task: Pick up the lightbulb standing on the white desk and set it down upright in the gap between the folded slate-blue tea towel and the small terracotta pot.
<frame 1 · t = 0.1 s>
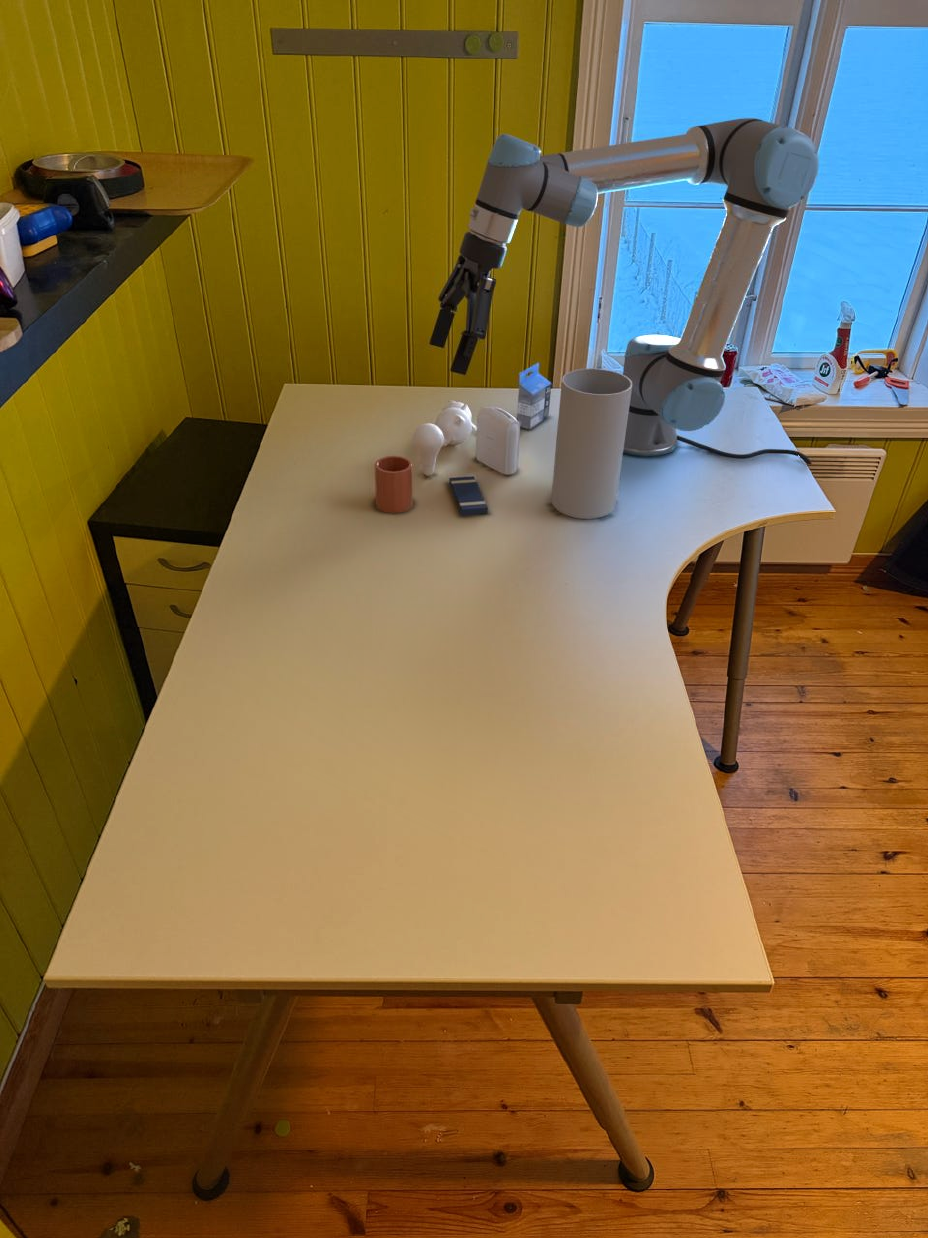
hand: (446, 358, 162), 28 cm above the table, tool tilted 20°, fingers open, 13 cm apart
photo printer: (496, 466, 190), on the table
cylinder vase: (582, 505, 178), on the table
ink cartridge box: (532, 422, 208), on the table
cat figurine: (458, 439, 200), on the table
lightbulb: (428, 475, 186), on the table
pot: (394, 504, 176), on the table
towel: (467, 498, 178), on the table
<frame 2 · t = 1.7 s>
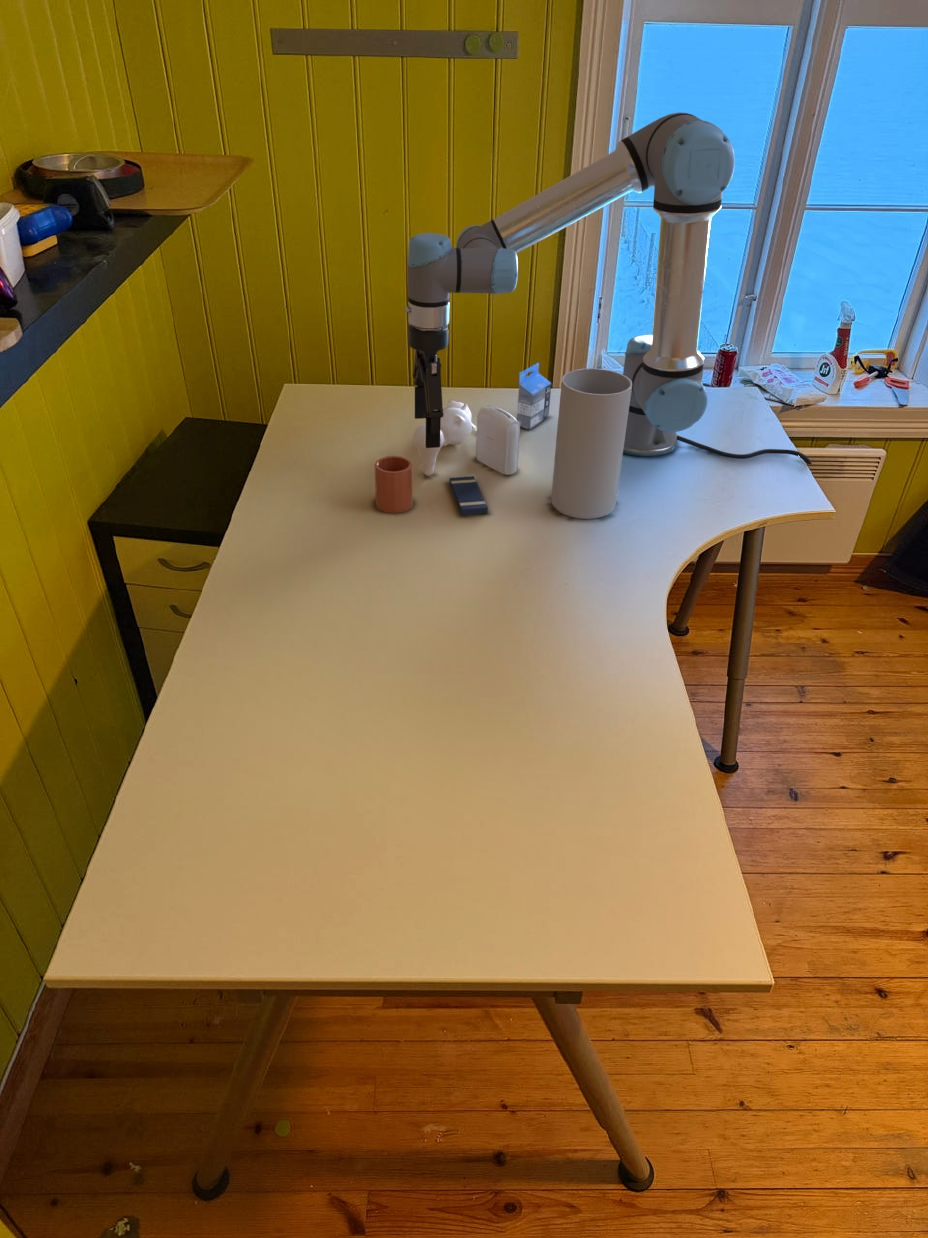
hand: (426, 432, 180), 9 cm above the table, tool pointing down, fingers open, 13 cm apart
nothing on the table moved.
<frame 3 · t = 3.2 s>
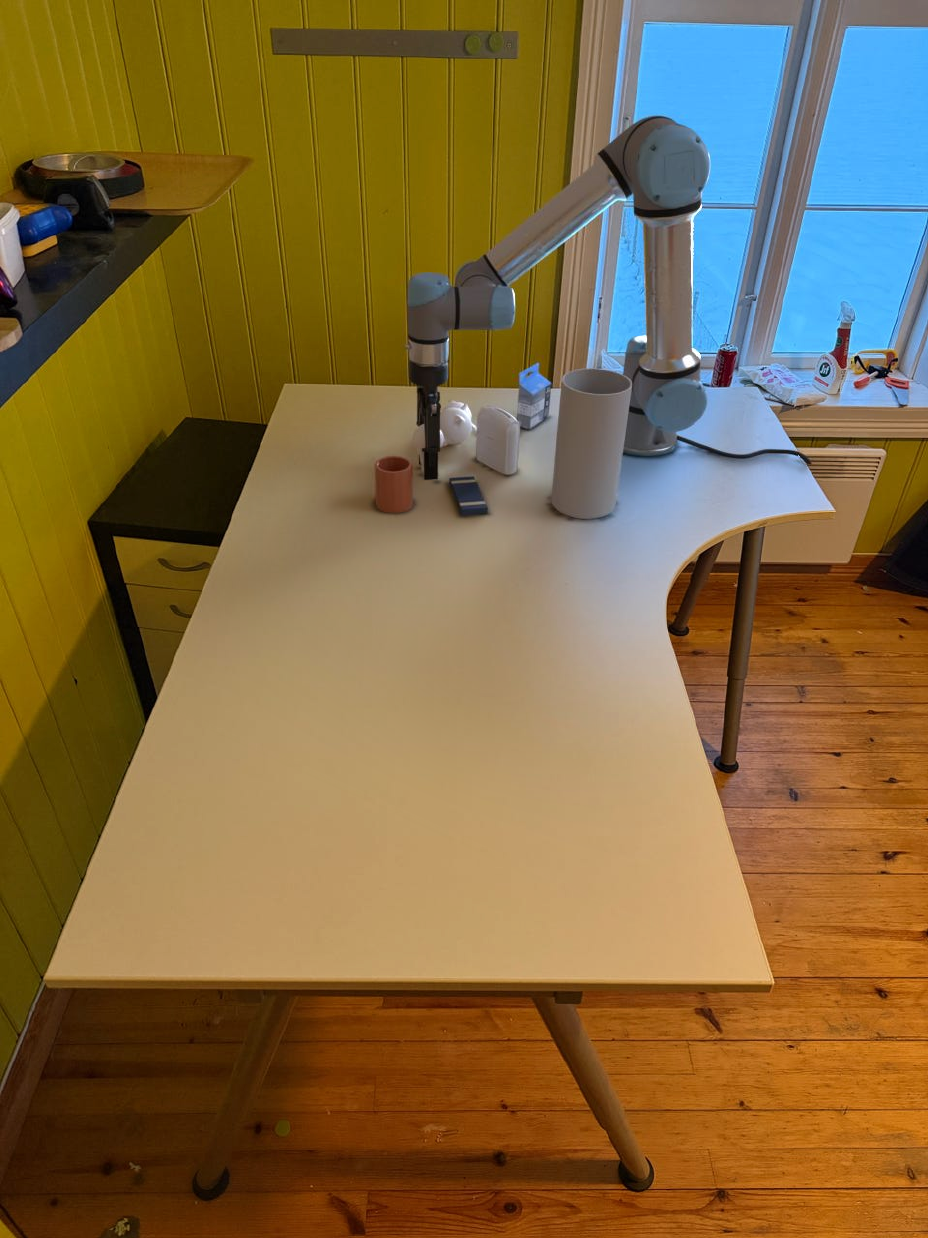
hand: (428, 470, 185), 1 cm above the table, tool pointing down, fingers closed on lightbulb, 6 cm apart
lightbulb: (428, 475, 186), on the table, touching gripper
everything else where it was.
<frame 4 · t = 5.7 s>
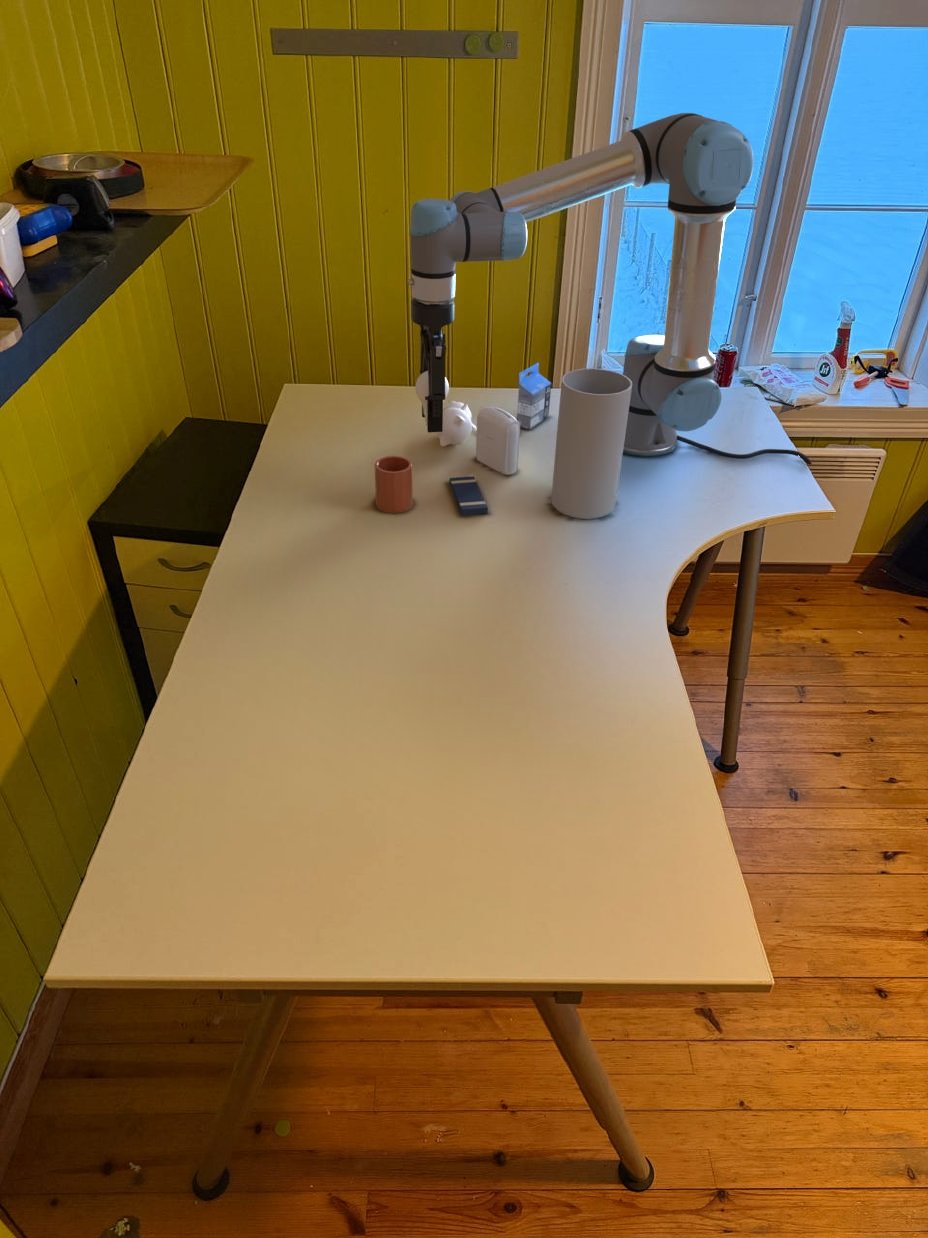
hand: (432, 423, 171), 15 cm above the table, tool pointing down, fingers closed on lightbulb, 6 cm apart
lightbulb: (431, 428, 171), point 14 cm above the table, touching gripper
everything else where it was.
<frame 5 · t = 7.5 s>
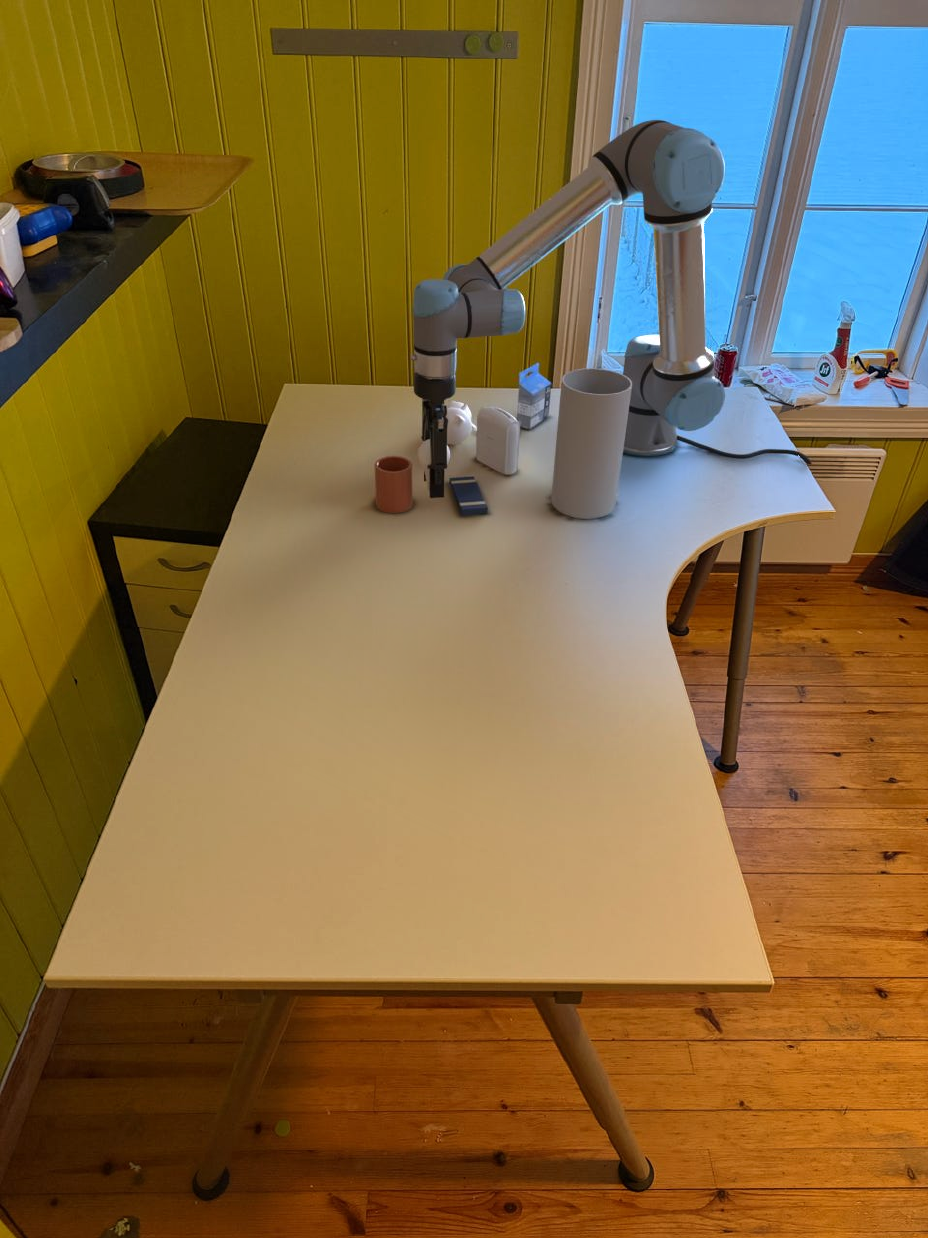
hand: (433, 488, 175), 3 cm above the table, tool pointing down, fingers closed on lightbulb, 6 cm apart
lightbulb: (433, 493, 176), point 2 cm above the table, touching gripper
everything else where it was.
when the fingers open (1 cm above the table, at t = 8.5 s): lightbulb stays where it is, on the table.
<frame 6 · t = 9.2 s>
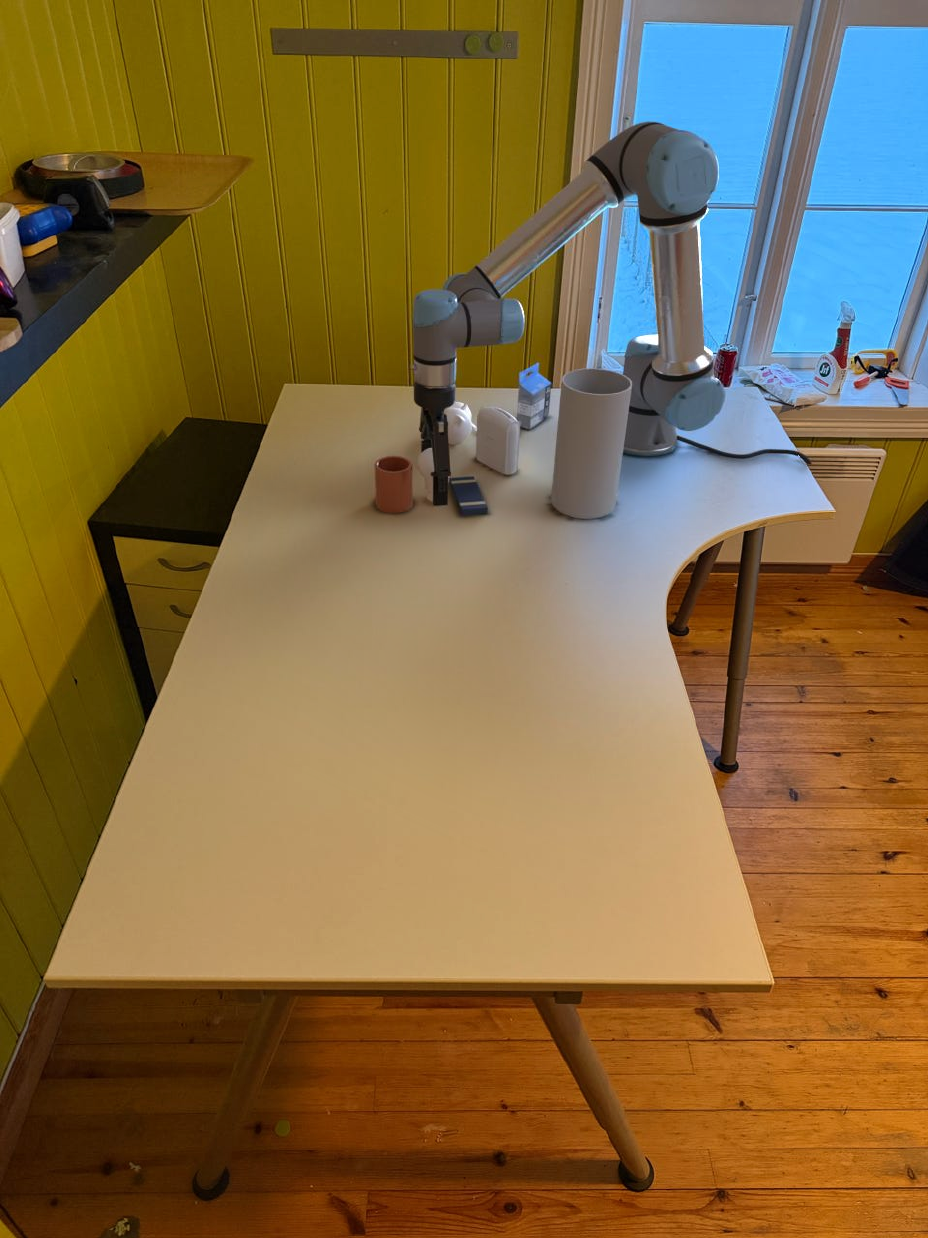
hand: (434, 487, 175), 3 cm above the table, tool pointing down, fingers open, 13 cm apart
lightbulb: (433, 501, 177), on the table
everything else where it was.
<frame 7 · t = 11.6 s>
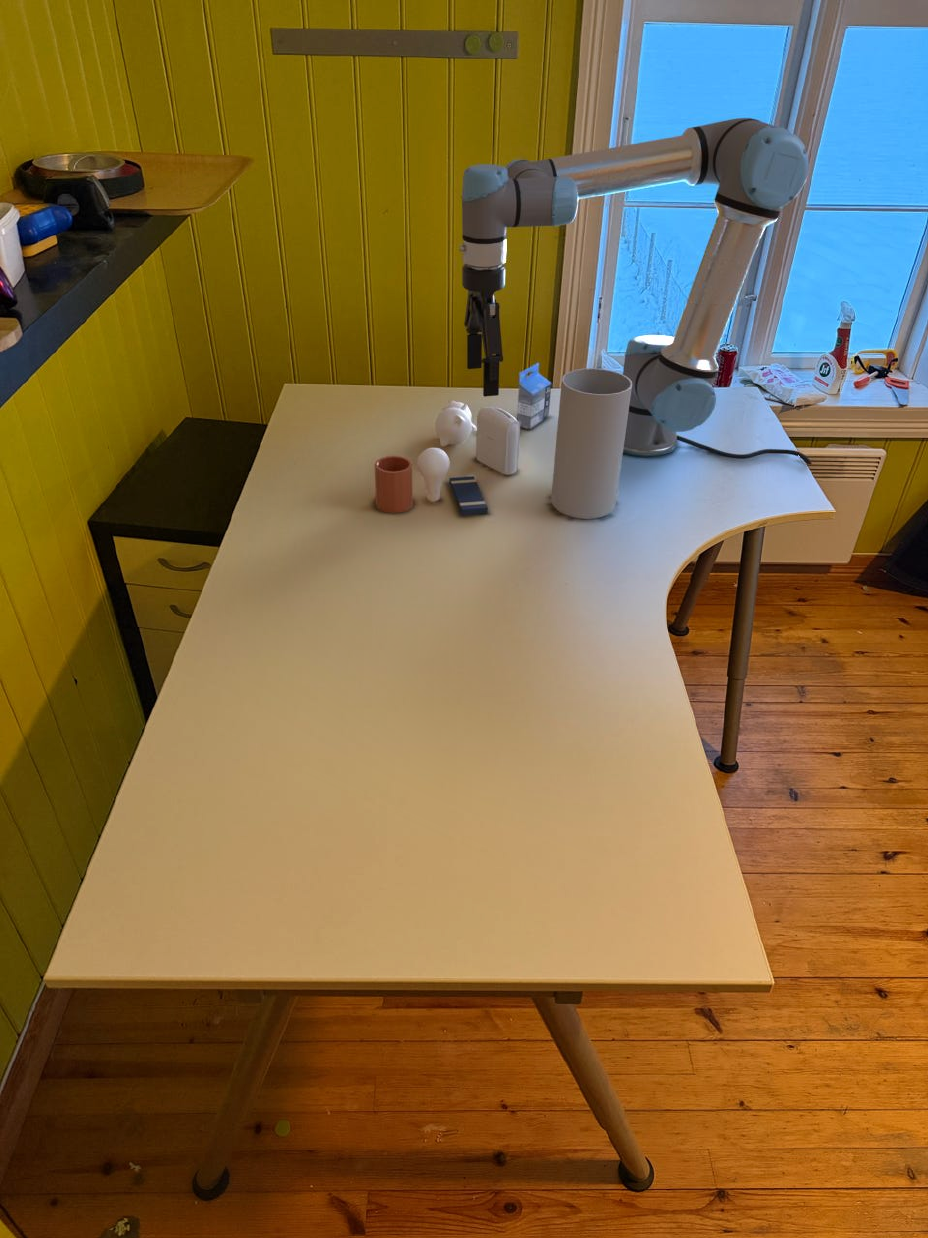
hand: (482, 381, 171), 21 cm above the table, tool pointing down, fingers open, 13 cm apart
nothing on the table moved.
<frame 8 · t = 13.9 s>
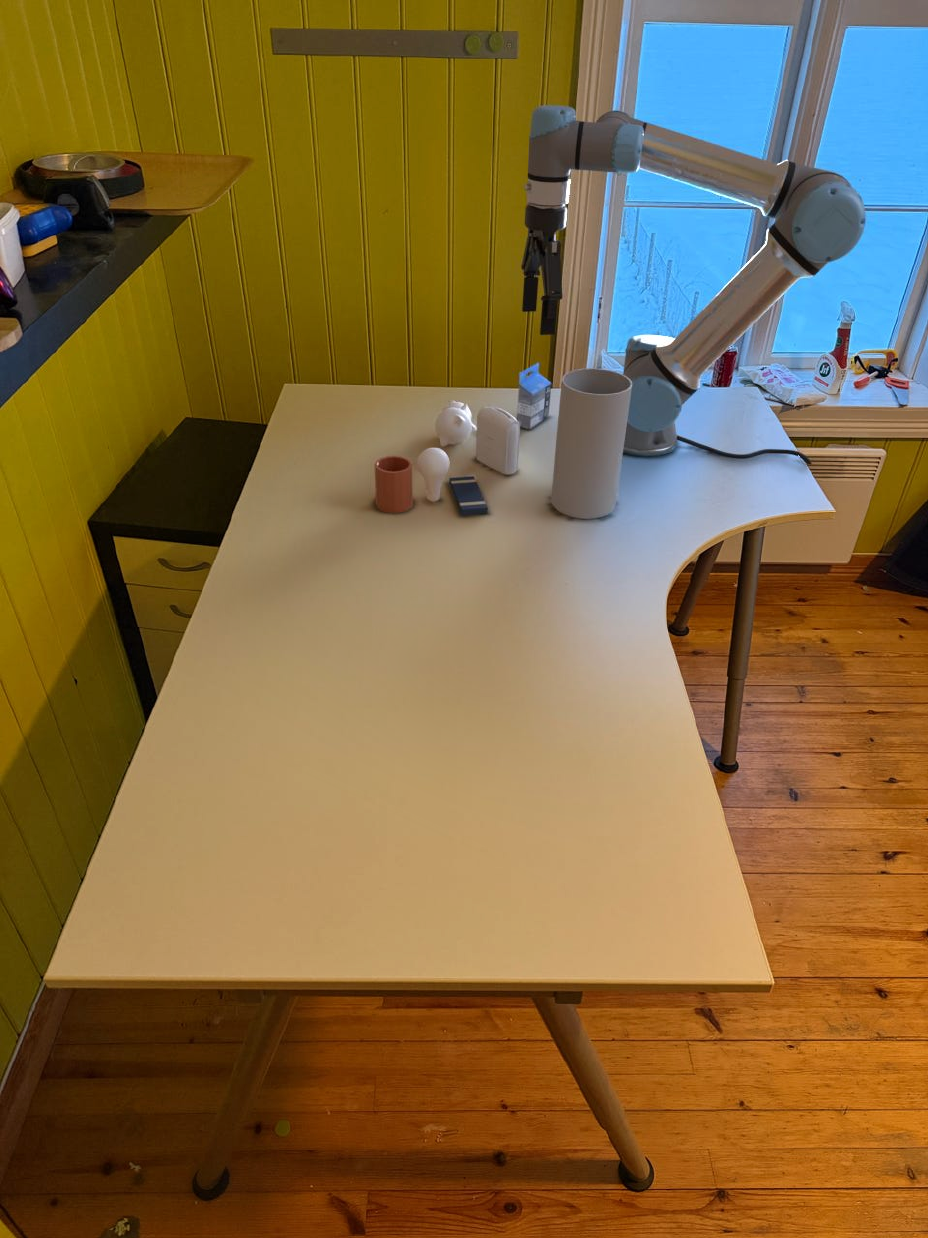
hand: (537, 322, 176), 29 cm above the table, tool pointing down, fingers open, 13 cm apart
nothing on the table moved.
at the end: lightbulb 0.1 cm from the target spot, on the table; lightbulb tilted 0°; lightbulb touching table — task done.
